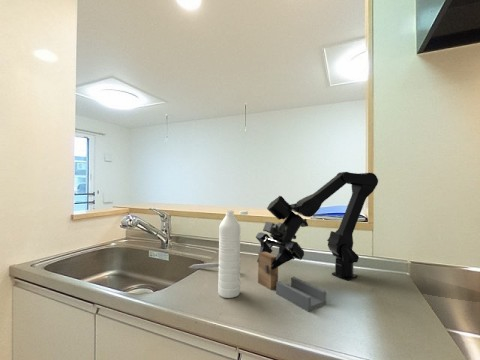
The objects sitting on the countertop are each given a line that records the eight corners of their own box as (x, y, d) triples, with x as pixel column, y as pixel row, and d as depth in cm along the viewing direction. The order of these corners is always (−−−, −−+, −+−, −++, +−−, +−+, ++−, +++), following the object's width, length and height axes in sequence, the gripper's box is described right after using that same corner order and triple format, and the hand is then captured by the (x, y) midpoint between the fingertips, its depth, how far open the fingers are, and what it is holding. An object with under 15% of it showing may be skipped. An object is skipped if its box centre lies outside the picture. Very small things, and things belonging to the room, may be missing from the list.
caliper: (239, 274, 87) (239, 257, 87) (238, 275, 86) (238, 258, 86) (190, 267, 93) (190, 251, 93) (188, 268, 92) (189, 252, 92)
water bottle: (215, 297, 68) (216, 211, 69) (221, 287, 74) (222, 209, 75) (245, 300, 67) (246, 212, 67) (248, 290, 73) (249, 209, 73)
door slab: (264, 280, 80) (265, 251, 81) (277, 287, 75) (278, 256, 75) (256, 283, 78) (257, 253, 79) (269, 290, 73) (269, 258, 73)
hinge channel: (293, 287, 75) (293, 276, 75) (325, 303, 65) (325, 291, 65) (276, 293, 71) (276, 281, 71) (307, 311, 61) (308, 298, 61)
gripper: (260, 210, 87) (234, 244, 81) (298, 216, 72) (270, 258, 65) (275, 229, 92) (252, 263, 85) (314, 239, 76) (290, 280, 70)
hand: (264, 265), depth 76 cm, fingers closed on door slab, 6 cm apart
